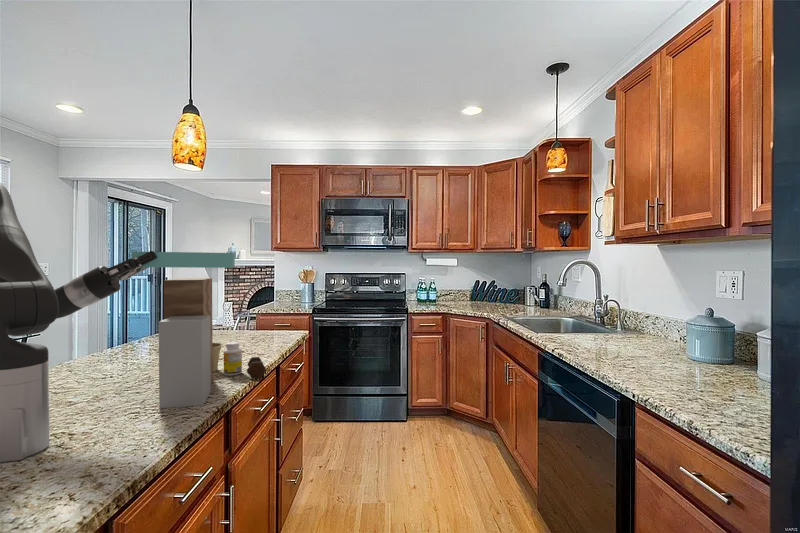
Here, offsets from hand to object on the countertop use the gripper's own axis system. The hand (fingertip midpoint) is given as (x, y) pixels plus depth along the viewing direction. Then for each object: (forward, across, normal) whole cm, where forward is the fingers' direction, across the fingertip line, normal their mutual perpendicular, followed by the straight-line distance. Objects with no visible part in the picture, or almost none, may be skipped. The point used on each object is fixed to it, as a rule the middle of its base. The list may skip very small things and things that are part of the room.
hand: (157, 254), depth 106 cm
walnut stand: (-15, +12, +36) cm, 41 cm away
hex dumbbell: (0, +24, +45) cm, 51 cm away
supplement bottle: (-7, +24, +42) cm, 48 cm away
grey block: (-13, 0, +37) cm, 40 cm away
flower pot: (-14, +30, +37) cm, 50 cm away
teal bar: (+4, 0, +6) cm, 7 cm away
